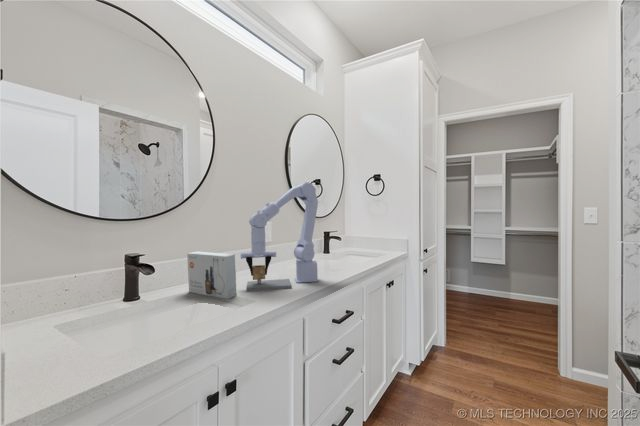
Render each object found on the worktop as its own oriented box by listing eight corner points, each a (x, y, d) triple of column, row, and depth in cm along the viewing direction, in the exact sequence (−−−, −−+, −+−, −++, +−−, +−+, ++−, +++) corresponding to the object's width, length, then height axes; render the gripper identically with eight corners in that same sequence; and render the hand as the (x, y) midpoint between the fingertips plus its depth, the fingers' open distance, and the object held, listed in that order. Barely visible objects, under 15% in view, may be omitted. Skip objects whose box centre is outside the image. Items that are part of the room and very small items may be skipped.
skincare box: (187, 292, 115) (186, 252, 115) (198, 289, 120) (197, 251, 120) (226, 299, 106) (225, 255, 105) (237, 295, 110) (236, 253, 110)
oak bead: (265, 276, 125) (264, 264, 125) (265, 279, 120) (265, 267, 120) (253, 277, 124) (252, 265, 124) (252, 279, 119) (252, 267, 119)
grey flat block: (289, 281, 131) (288, 266, 131) (291, 288, 119) (291, 271, 119) (247, 284, 127) (247, 268, 127) (246, 291, 115) (245, 274, 115)
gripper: (239, 244, 117) (240, 277, 117) (276, 242, 120) (276, 275, 120) (241, 242, 124) (241, 274, 124) (275, 241, 127) (276, 272, 127)
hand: (259, 274), depth 122 cm, fingers closed on oak bead, 5 cm apart
